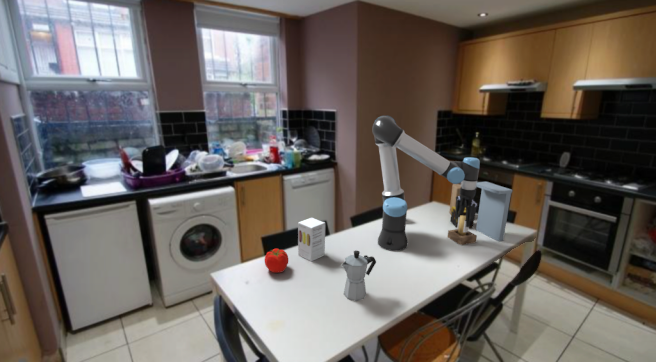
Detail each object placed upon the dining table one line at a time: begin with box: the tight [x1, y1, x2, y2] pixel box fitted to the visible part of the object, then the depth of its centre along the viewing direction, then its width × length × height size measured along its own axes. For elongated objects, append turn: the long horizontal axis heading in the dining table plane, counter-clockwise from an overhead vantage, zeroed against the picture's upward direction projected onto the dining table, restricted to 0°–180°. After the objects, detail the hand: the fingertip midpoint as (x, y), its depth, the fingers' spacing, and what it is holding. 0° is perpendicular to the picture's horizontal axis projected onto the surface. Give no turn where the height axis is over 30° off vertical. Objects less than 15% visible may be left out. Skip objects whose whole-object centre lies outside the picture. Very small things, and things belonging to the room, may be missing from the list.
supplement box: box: [297, 217, 326, 262], centre depth 150 cm, size 10×9×17 cm
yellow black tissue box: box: [450, 207, 475, 229], centre depth 189 cm, size 10×10×10 cm
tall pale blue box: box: [475, 181, 513, 243], centre depth 171 cm, size 9×17×28 cm, turn 20°
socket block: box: [447, 228, 478, 246], centre depth 169 cm, size 10×10×4 cm
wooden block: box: [448, 183, 461, 215], centre depth 202 cm, size 10×10×20 cm
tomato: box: [264, 248, 289, 274], centre depth 137 cm, size 11×11×9 cm
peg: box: [458, 215, 466, 236], centre depth 168 cm, size 4×4×10 cm
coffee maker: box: [340, 250, 377, 302], centre depth 120 cm, size 15×9×18 cm, turn 114°
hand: (462, 230), depth 169 cm, fingers closed on peg, 4 cm apart
